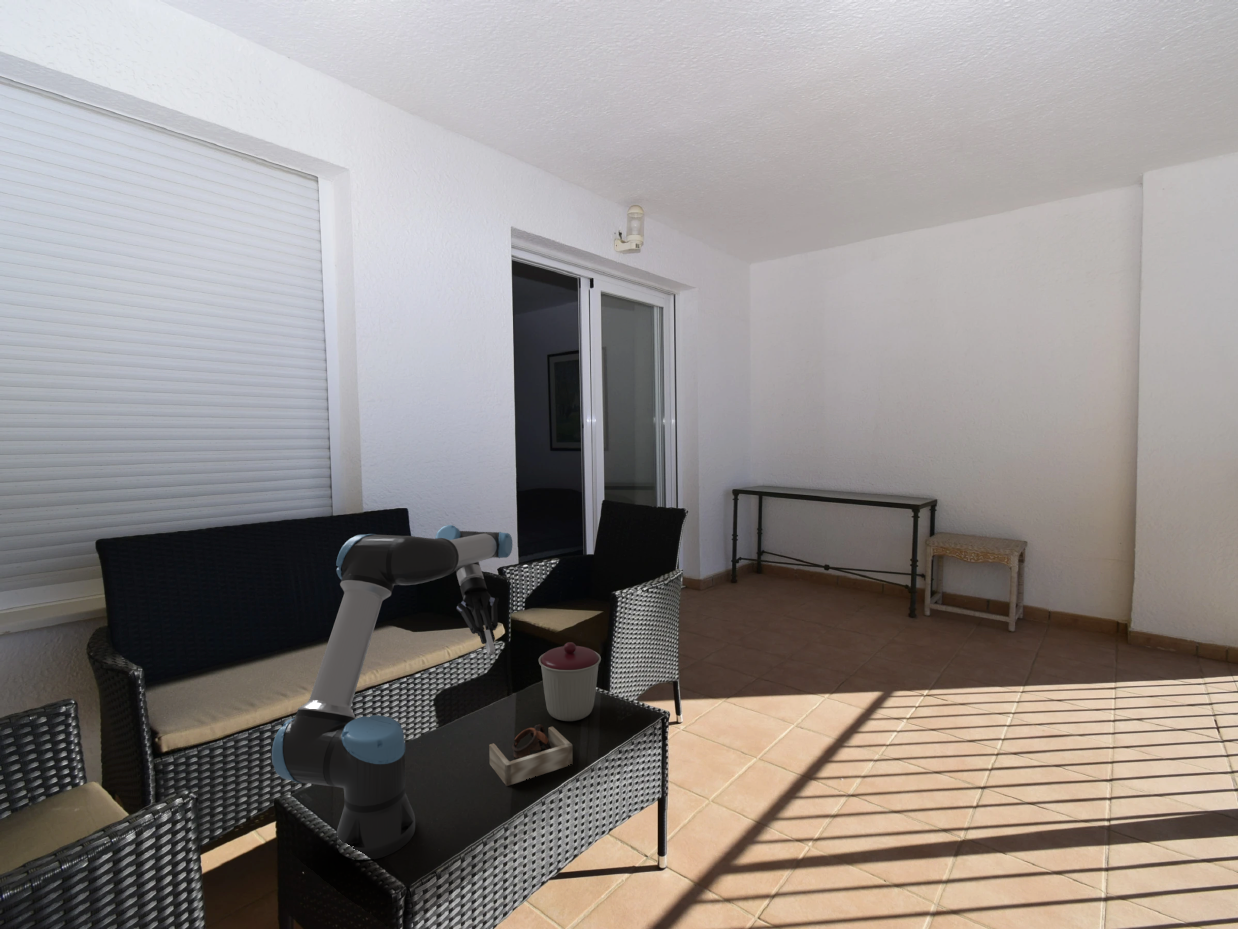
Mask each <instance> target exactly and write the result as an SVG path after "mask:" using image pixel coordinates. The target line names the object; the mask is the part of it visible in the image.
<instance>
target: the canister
mask: <svg viewBox="0 0 1238 929" xmlns="http://www.w3.org/2000/svg"><path fill="white" fill-rule="evenodd" d="M601 660H602V658H601V655H600V654H599V653H598V652H596V651H595V650H593V649H591V648H589V647H586V646H579V645H576V644H575V643H574V642H570V641H569V642H566V643H565V644H564V645H562V646H558V647H554V648H551V649H549V650H547V651H545V653H543V654H541V655H540V656H539V658H538V663H539V665H540V666H541V675H542V684H543V693H544V699H545V700H544V701H545V705H546V709H547V710H546V711H547V712H548V714H549V715H550V716H551V717H552V718H553V719H555V720H559V721H563V722H576V721H580V720H583V719H585V718H587V717H588V716H589V715H590V714H591V713H592V711H593V708H594V706H595V699H596V691H597V682H598V675H599V674H598V671H599V665H600V663H601Z"/></svg>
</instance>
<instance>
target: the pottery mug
mask: <svg viewBox="0 0 1238 929" xmlns="http://www.w3.org/2000/svg"><path fill="white" fill-rule="evenodd" d="M528 735H530V737H531V739H530V741H529V742H528V743H527V744H526V745H523V746H521V747H518V745H519V743H520V742H521V740H523V739H524V738H525V737H526V736H528ZM513 740H514V741H515V742H513V743H512V744H511V749H512V751H513V757H514V758H515V759H519V758H523V757H526V756H529V755H531V751H533V752H535V751H539V752H540V751H541V750H542V749H543V748H542V747H543V746H544V749H545V750H549V749H552V747H551V745H550V742H549V738H548V736H547V735H546V729H545V727H544V726H543V724H540V723H539V724H536V725H534V727H528V728H525V729H523V730H522V731H521V732H520V733H518V734H517V735H516V737H515V738H514V739H513ZM545 750H544V751H545Z"/></svg>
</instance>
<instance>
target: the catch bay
mask: <svg viewBox="0 0 1238 929" xmlns="http://www.w3.org/2000/svg"><path fill="white" fill-rule="evenodd" d="M547 735H548V736H547V738H548V740H549V742H550V745H551V747H552V749H549V750H542V751H539V752H537V753H532V754H530V755H529V756H526V757H523V758H519V759H517V758H515V759H513V760H511V761H510V760H509V759H508V758H507V757H506V756H505V755H504V753H503V752H502V751H501V750H500V748H498V746H497V745H496V744H495V743H491V744H489V745H488V746H489V765H490V767H491V768H492V769H493V770H494V772H495V773H496V774H497V776H498V777H499V779H500V780H501V781H502V783H504V784H505V786H506V787H508V786H509V787H510V786H511V785H514V784H518V783H521V782H523V781H526V779H527V780H530V779H532V778H535V776H536V777H539V776H541V775H544V774H548V773H551V772H554V771H557V770H559V769H560V770H561V769H563V768H565V767H569V766H571V765H570V764H572V765H574V764H573V761H574V760H573V744H572V743H571V742H570V741H569V740H568V739H567V738H566V737H565V736H564V735H562V733H560V732H559V731H558V730H557V729H556V728H555V727H554V726H550V727H548V734H547ZM568 765H569V766H568ZM529 778H530V779H529Z"/></svg>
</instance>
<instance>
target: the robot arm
mask: <svg viewBox="0 0 1238 929" xmlns="http://www.w3.org/2000/svg"><path fill="white" fill-rule="evenodd" d="M512 537H513V536H511V534H510V533H508V532H501V531H499V532H497V531H496V532H495V531H473V530H472V531H471V530H460V529H459V528H458V527H456V526H455V525H452V524H447V525H443V526H442V527H441V528H439V529H438V531H437V532H436V534H435V538H431V537H421V536H415V535H391V534H390V535H389V534H388V535H387V534H376V533H368V534H357V535H354V536H353V537H351V538H349V539H348V540H346V542H344V544H343V545H342V546H341V548H340V550H339V552H338V555H337V557H336V558H337V559H336V565H335V566H337V568H336V574H337V576H338V578H339V579H340V583H339V585H340V588H341V589H342V591H343V597H342V599H341V603H340V604H339V605H340V606H339V608H338V612H337V614H336V618H335V621H334V623H333V627H332V630H331V633H330V636H329V639H328V642H327V645H326V648H325V650H324V653H323V657H322V660H321V663H320V666H319V668H318V672H317V675H316V679H315V680H314V685H313V688H312V690H311V693H310V696H309V699H308V701H307V702H306V703H303V705H301V706H299V707H298V709H297V712H296V713H295V717H293V718H291V719H287V721H285V722H284V723H283V725H282V726H281V727H280V728H279V729H278V731H277V733H276V735H275V737H274V739H273V743H272V748H271V763H272V766H273V768H274V771H275V773H276V774H277V775H278V776H279V777H280V778H281V779H283V780H285V781H286V780H288V781H293V782H294V783H296V784H297V783H298V784H302V783H303V784H305V783H306V784H312V785H319V786H325V787H326V786H327V787H335V788H342V789H343V794H344V797H343V798H344V806H343V808H342V814H341V817H340V819H339V823H338V825H337V830H336V832H337V836H338V838H339V839H340V840H341V841H342V842H344V843H347V844H348V845H350V846H351V847H352V846H354V847H353V849H355V850H358V851H360V852H362V853H364V854H365V855H367V856H368V857H370V858H372V859H374V860H378V859H381V858H385V857H387V856H389V855H392V854H394V853H396V852H397V851H399V850H401V849H402V848H403V847H405V845H407V844H408V843H409V842H410V840H412V838H413V836H414V834H415V831H416V818H415V812H414V810H413V807H412V805H411V803H410V801H409V798H408V796H407V792H406V741H405V733H404V730H403V728H402V725H401V724H400V723H399V722H398V721H397V720H396V719H395V718H391V717H390V716H385V715H382V714H381V715H379V714H374V715H373V714H371V715H370V716H367V715H363V716H360V717H357V718H356V716H355V714H354V712H353V710H352V703H353V700H354V698H355V693H356V690H357V686H358V684H359V681H360V677H361V675H362V674H361V673H362V670H363V667H364V663H365V660H366V657H367V653H368V650H369V648H370V643H371V640H372V636H373V633H374V630H375V626H376V623H377V620H378V617H379V613H380V611H381V607H382V604H383V601H384V600H386V599H388V598H389V597H391V596H392V592H393V589H394V586H398V585H399V586H411V585H418V584H423V583H428V582H430V581H435V580H437V579H441V578H444V577H447V576H449V575H451V574H453V573H454V572H456V573H455V574H456V577H457V580H458V581H457V582H458V584H459V586H460V587H459V589H460V592H461V596H462V600H461V602H458V603H457V606H456V610H457V612H459V614H461V616H462V618H463V620H464V621H465V623H466V626H467V627H468V628H469V630H470V632H471V634H472V635H475V634H477V636H478V637H479V638H480V643H481V644H482V645H485V649H486V652H487V655H488V656H491V655H494V653H495V651H496V647H495V644H494V642H495V640H496V637H495V633H494V631H496V629H497V628H498V626H499V620H498V619H499V616H498V603H499V600H500V598H499V597H492V596H491V594H490V593H489V592H488V588H487V585H486V581H485V578H484V574H483V571H482V567H481V565H480V562H482V561H486V560H488V559H492V558H494V559H495V558H496V559H506V558H508V557H510V555H511V553H512V551H513V538H512ZM488 604H489V605H490V606H491V609H490V610H491V611H490V613H491V617H490V613H489V610H488ZM468 609H469V610H470V611H471V614H472V615H471V614H470V611H469V610H468ZM482 620H483V621H482Z"/></svg>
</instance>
